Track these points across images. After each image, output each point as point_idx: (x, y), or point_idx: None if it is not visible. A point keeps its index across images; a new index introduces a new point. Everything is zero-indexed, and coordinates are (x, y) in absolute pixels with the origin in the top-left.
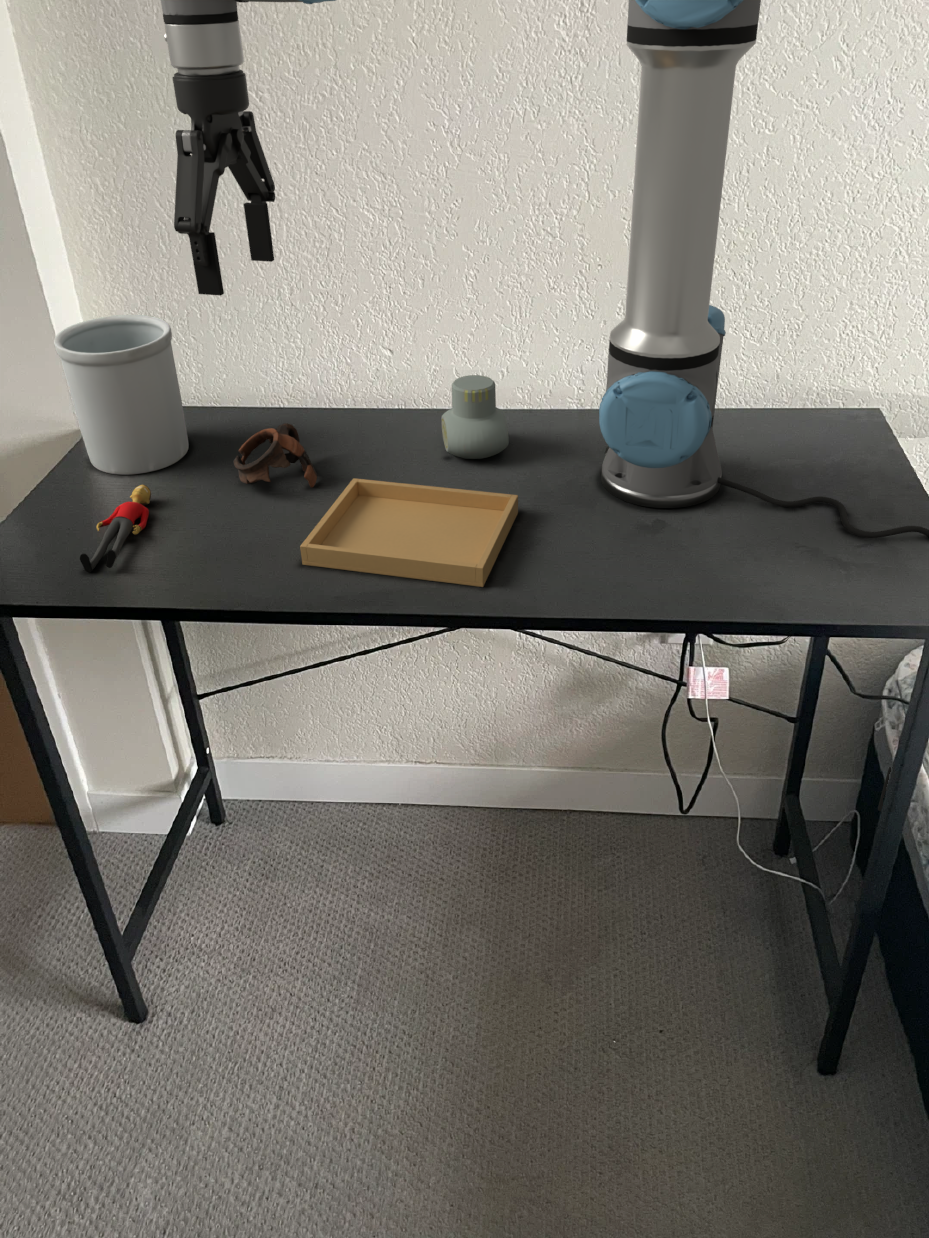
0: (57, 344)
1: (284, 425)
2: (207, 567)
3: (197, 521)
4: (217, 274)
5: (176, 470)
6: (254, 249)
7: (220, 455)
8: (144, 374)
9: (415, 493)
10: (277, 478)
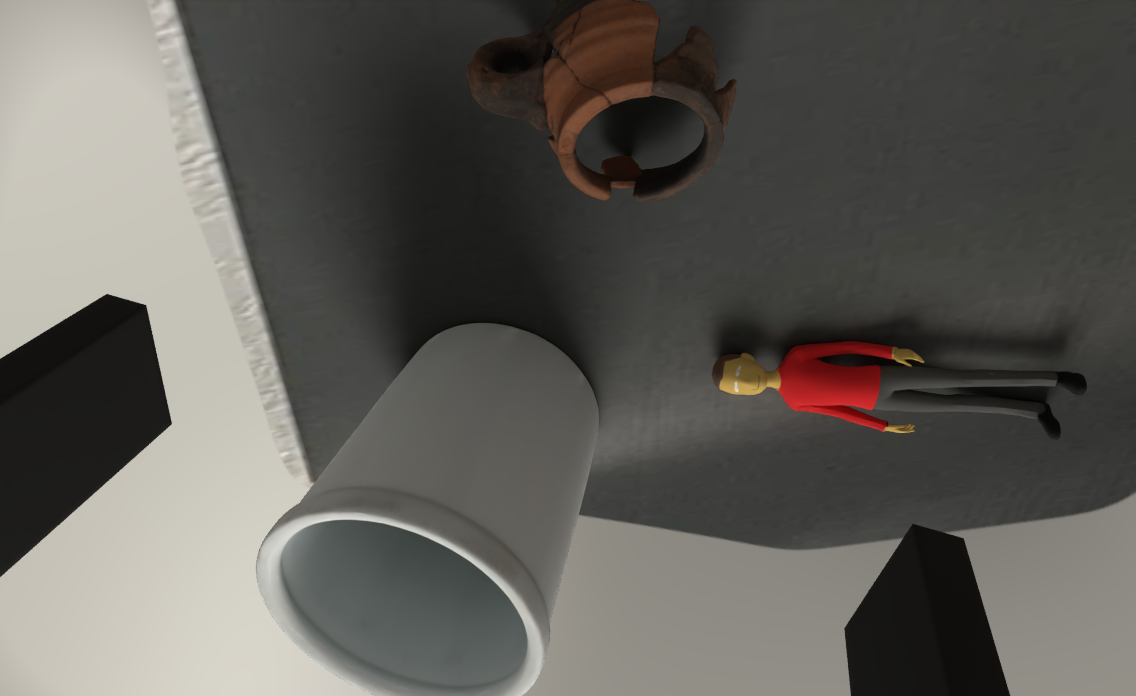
0: None
1: (500, 89)
2: (1101, 164)
3: (833, 237)
4: (999, 678)
5: (572, 327)
6: (112, 445)
7: (491, 250)
8: (506, 505)
9: None
10: None
